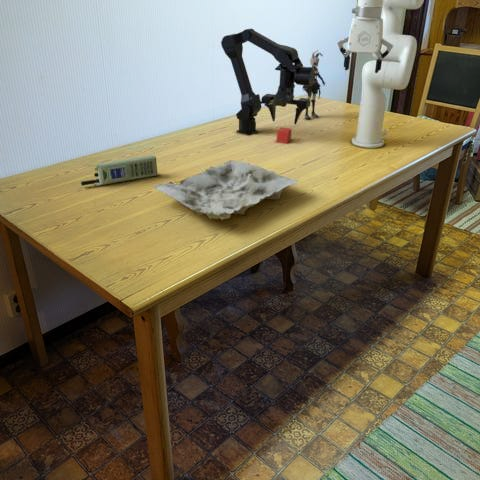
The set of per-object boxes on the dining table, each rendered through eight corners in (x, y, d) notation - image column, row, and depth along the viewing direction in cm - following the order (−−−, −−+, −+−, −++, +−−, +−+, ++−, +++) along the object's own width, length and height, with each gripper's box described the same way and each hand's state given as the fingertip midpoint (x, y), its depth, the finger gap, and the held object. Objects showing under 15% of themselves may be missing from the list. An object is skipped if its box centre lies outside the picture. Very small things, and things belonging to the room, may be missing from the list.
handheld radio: (158, 176, 170) (83, 189, 160) (155, 173, 172) (80, 186, 162) (156, 157, 167) (79, 169, 157) (153, 154, 169) (77, 166, 159)
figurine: (304, 121, 228) (309, 51, 213) (294, 118, 232) (298, 49, 217) (325, 115, 237) (331, 47, 222) (315, 113, 240) (320, 46, 226)
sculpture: (145, 207, 151) (219, 236, 133) (144, 188, 148) (218, 215, 130) (230, 174, 176) (301, 195, 158) (230, 157, 173) (302, 177, 155)
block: (280, 138, 207) (281, 127, 205) (291, 139, 206) (291, 128, 203) (276, 141, 203) (277, 130, 201) (287, 143, 202) (287, 132, 199)
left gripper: (256, 84, 192) (255, 124, 200) (303, 90, 186) (300, 131, 194) (267, 78, 201) (265, 117, 209) (312, 83, 195) (309, 123, 203)
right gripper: (338, 13, 155) (332, 70, 164) (396, 15, 149) (387, 75, 158) (343, 10, 161) (337, 66, 170) (399, 13, 155) (390, 71, 164)
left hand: (284, 122), depth 203 cm, fingers open, 9 cm apart
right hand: (361, 70), depth 164 cm, fingers open, 9 cm apart
